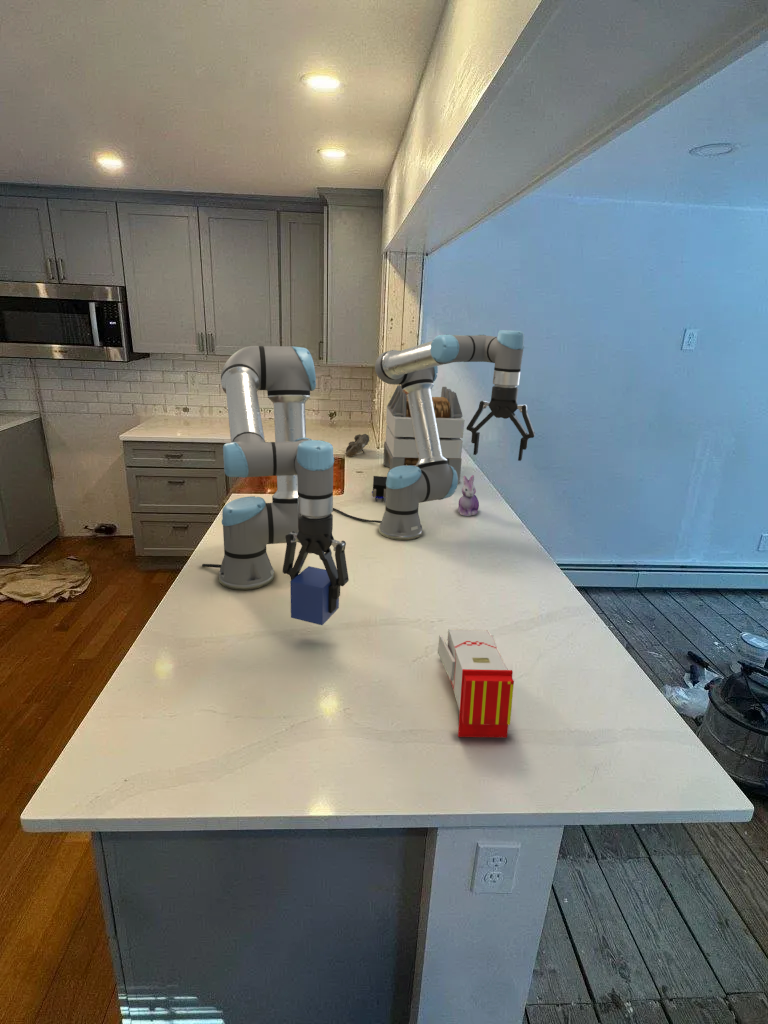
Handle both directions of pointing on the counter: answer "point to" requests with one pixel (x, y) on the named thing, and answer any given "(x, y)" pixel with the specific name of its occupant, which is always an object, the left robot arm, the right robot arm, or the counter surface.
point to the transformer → (401, 433)
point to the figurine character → (379, 487)
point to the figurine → (468, 498)
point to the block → (311, 596)
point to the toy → (478, 682)
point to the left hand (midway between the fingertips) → (315, 606)
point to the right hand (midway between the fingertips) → (497, 456)
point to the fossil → (357, 445)
